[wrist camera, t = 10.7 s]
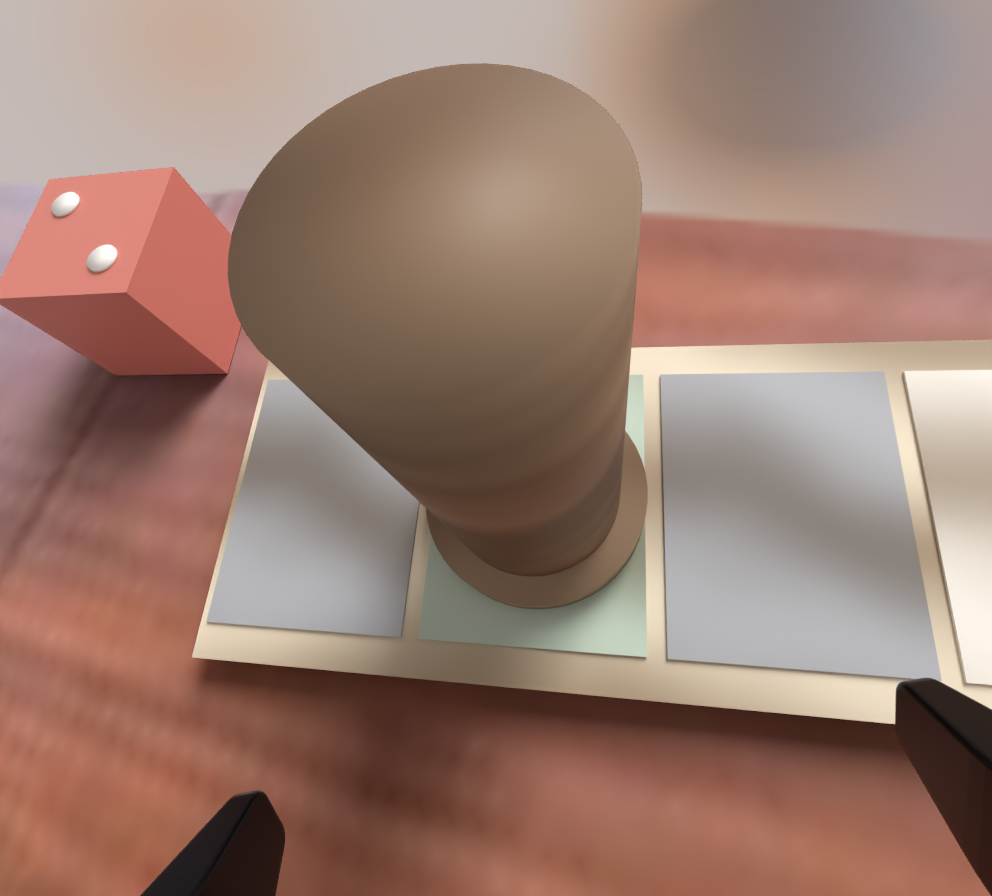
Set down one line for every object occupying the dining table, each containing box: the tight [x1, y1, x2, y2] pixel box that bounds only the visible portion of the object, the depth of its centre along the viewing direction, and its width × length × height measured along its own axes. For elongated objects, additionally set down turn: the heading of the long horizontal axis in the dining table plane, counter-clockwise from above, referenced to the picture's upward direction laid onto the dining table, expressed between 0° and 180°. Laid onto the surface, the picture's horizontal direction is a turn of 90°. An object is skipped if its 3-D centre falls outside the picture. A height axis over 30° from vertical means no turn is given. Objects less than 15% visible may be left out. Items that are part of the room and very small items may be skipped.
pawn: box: [228, 64, 648, 609], centre depth 11 cm, size 6×6×11 cm
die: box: [0, 167, 241, 376], centre depth 21 cm, size 5×5×5 cm
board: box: [192, 340, 992, 724], centre depth 16 cm, size 10×26×1 cm, turn 85°
